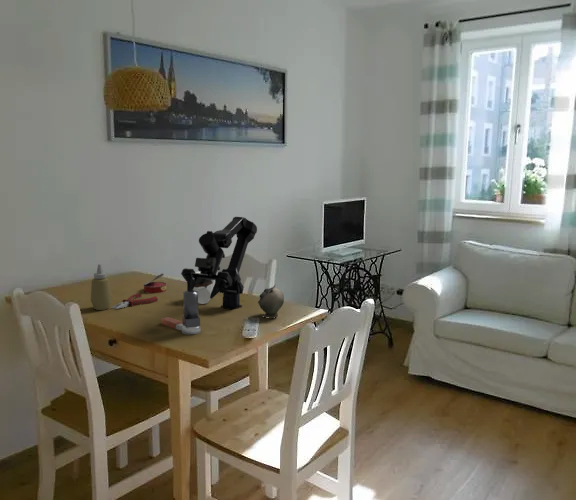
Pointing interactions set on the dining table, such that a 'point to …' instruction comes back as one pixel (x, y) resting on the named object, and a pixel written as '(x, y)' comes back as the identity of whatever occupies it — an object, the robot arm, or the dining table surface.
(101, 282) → the squeeze bottle
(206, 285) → the spread jar
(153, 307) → the dining table surface
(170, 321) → the ratchet
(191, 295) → the socket
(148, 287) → the canned food
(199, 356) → the dining table surface
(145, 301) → the pliers
